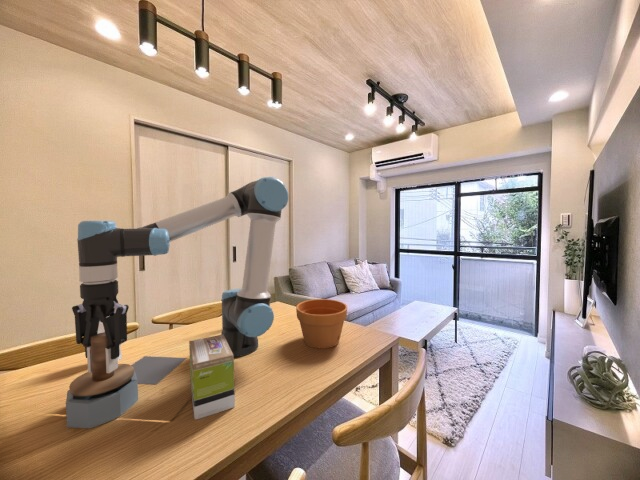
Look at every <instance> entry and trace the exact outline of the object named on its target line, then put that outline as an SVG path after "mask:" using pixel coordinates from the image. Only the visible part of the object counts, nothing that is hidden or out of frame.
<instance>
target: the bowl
mask: <svg viewBox="0 0 640 480" xmlns="http://www.w3.org/2000/svg"><path fill="white" fill-rule="evenodd" d="M138 401H139V384H138V380H137V377H136V373H135V371H134V375H133V377H132V378H131V379H130V380H129V381H127V382H126V383H124V384H123V385H121V386H119V387H117V388H115V389H112V390H110V391H107V392H104V393H101V394H97V395H92V396H74V395H72V394H70V390H67V392H66V400H65V411H66V412H65V413H66V428H77V429H79V428H80V429H92V428H95V427H98V426H101V425H103V424H105V423H108V422H112V421H115V420H116V419H120V416H121V417H122V415H124V414H125V412H127V410H129V409H130V408H131V407H133V406H134V405H135V404H136V403H137V402H138Z"/></svg>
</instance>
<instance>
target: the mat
mask: <svg viewBox="0 0 640 480" xmlns="http://www.w3.org/2000/svg"><path fill="white" fill-rule="evenodd" d="M187 359H188V357H172V356H171V357H169V356H150V355H149V356H147V355H145V356H143V357H141V358H140V359H138V360H137V361H135V362H133V363H132V364H131V365H132V366H133V367H134V371H135V373H136V377H137V380H138V385H153V386H156V385H158V384H159V383H160V382H162V381H163V379H165V378H166V377H167V376H168V375H170V373H172V372H173V371H174V370H175V369H176V368H177V367H179V365H182V363H183V362H185V360H187Z"/></svg>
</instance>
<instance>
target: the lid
mask: <svg viewBox="0 0 640 480" xmlns="http://www.w3.org/2000/svg"><path fill="white" fill-rule="evenodd" d="M106 347H108V342H107V338H106V334H105V332H103V333H99V334H98V333H97V334H95V335H93V336H91V358H92V372H88V371H86V372H85V373H82V374H81V375H79V376H77V377H76V378H74V379H73V380H72V381H71V382H70V384H69V388H68V389H69V390H70V394H72V395H74V396H92V395H97V394H101V393H104V392H107V391H110V390H112V389H115V388H117V387H119V386H121V385H123V384H124V383H126V382H127V381H129V380H130V379H131V378H132V377H133V375H134V367H133V366H132V364H129V363H118V368H117V369H115V370H114V371H112V372H111V373H106V350H105V348H106Z"/></svg>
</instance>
